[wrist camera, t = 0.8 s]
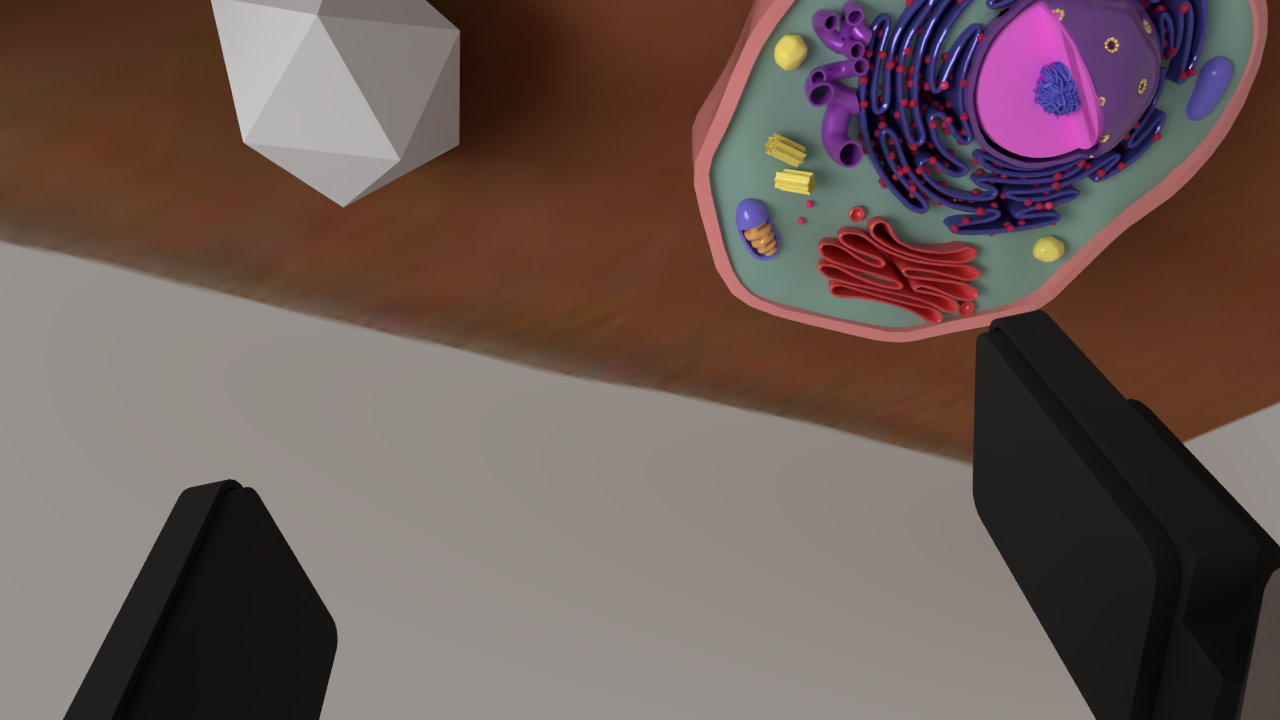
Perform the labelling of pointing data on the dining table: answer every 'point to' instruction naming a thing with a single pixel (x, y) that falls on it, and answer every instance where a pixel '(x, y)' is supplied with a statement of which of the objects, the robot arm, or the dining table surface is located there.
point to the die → (343, 87)
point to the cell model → (954, 148)
